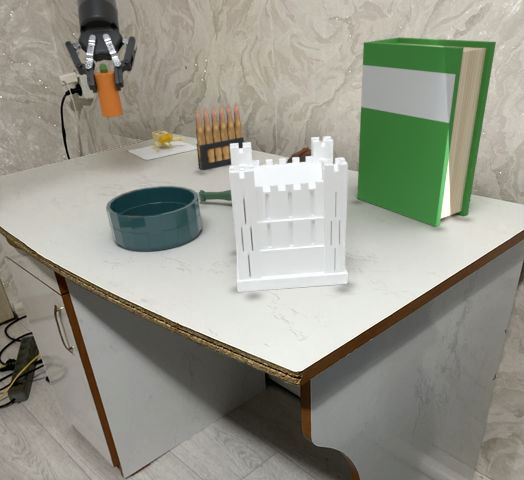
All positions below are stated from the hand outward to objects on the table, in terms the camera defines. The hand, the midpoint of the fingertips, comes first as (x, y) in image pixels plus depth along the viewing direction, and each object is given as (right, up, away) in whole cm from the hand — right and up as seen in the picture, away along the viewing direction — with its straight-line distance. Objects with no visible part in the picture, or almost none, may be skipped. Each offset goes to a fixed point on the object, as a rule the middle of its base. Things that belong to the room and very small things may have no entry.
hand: (106, 88), depth 103 cm
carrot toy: (0, -3, +4) cm, 5 cm away
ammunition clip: (+21, -10, +14) cm, 28 cm away
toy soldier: (+33, -22, -4) cm, 40 cm away
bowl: (+13, -32, -16) cm, 38 cm away
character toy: (+6, -1, +29) cm, 29 cm away
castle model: (+34, -39, -28) cm, 59 cm away
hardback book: (+55, -26, -13) cm, 62 cm away
